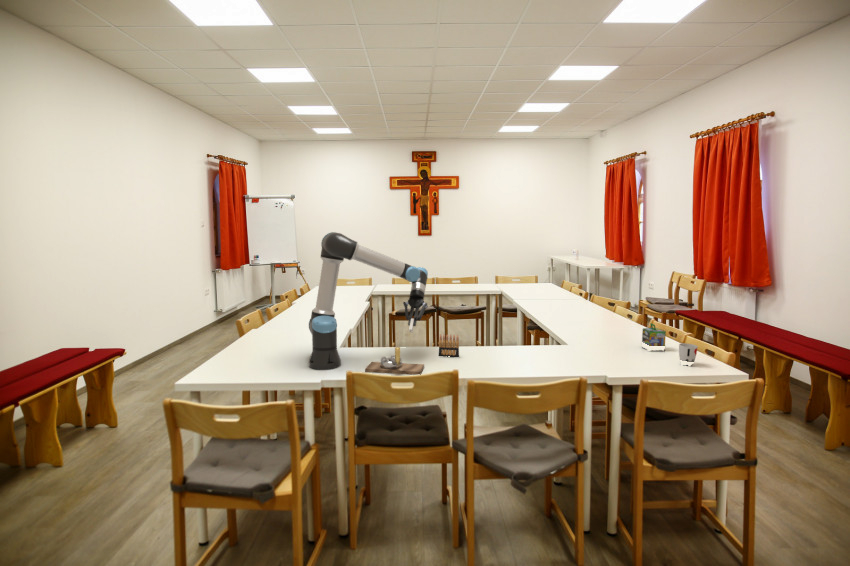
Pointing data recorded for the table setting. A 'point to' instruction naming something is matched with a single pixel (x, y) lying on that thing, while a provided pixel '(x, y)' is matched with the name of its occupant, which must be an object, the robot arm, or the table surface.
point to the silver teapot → (392, 360)
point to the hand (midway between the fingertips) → (410, 330)
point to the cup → (687, 352)
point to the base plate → (403, 369)
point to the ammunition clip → (449, 346)
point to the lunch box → (653, 336)
